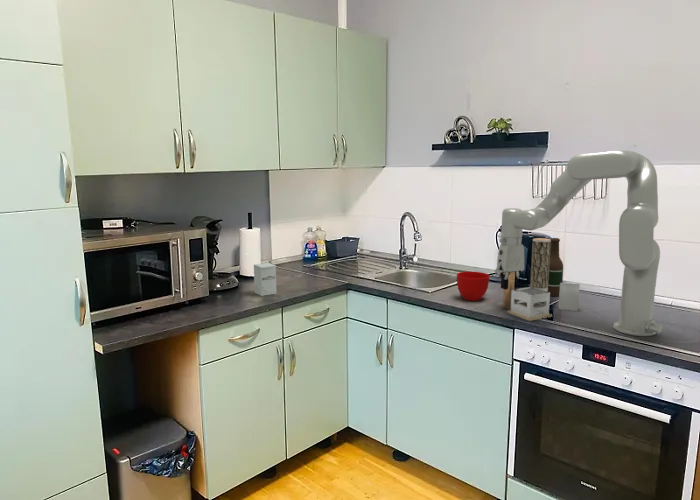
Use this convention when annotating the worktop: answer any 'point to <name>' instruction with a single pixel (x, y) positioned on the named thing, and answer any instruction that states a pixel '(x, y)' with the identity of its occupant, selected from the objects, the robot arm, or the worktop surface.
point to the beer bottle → (555, 269)
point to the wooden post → (508, 290)
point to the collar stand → (530, 303)
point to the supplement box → (265, 279)
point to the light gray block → (569, 296)
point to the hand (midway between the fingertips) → (508, 287)
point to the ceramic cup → (472, 284)
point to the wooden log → (540, 263)
